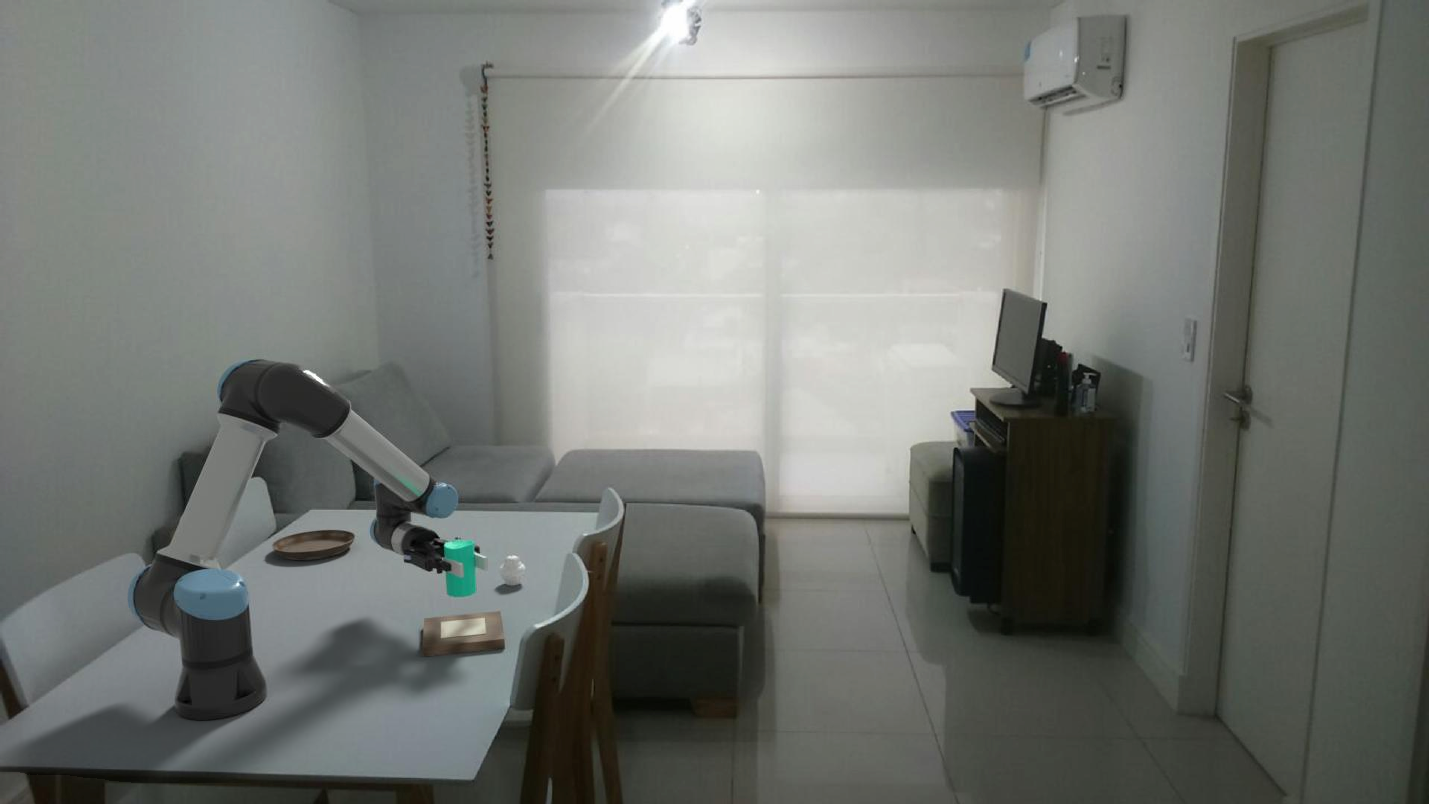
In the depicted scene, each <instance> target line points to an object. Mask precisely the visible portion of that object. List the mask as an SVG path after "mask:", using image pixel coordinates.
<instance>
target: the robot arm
mask: <svg viewBox="0 0 1429 804" xmlns="http://www.w3.org/2000/svg"><path fill="white" fill-rule="evenodd" d="M216 391H217V392H216V394H217V396H218V402H219V404H220V406H219V409H218V411H217V413H216V417H217V420H218V422H219V424H220V425H219V426H220V428H219V431H218V432H217V435H216V438H215V439H214V442H213V444H212V446H211V449H210V451H209V454H208V456H207V458H206V461H205V463H204V465H203V467H202V470H201V472H200V475H199V476H198V479H197V481H196V484H195V486H194V488H193V490H192V493H191V495H190V497H189V500H188V502H187V504H186V507H185V508H184V512H183V513H182V516H181V519H180V520H179V521H178V525H177V527H176V529H175V532H174V534H173V537H172V539H171V542H170V543H169V545H167V546H165V547H163V548H160V549H159V550H157V552H156V554H155V555H154V558H153V560H152V562H151V564H149V565H146V567H144V568H142V569H140V570H139V571H138V572H137V573H136V574H135V575H134V577H133V578H132V579H131V582H130V584H129V587H128V590H127V605H128V608H129V611H130V613H131V614H132V616H133V617H134V618H135V619H136V620H137V621H138V622H139V623H141V624H143V625H144V626H145V627H147V628H149V629H150V630H152V631H158V632H161V633H164V634H166V635H168V636H171V637H173V638H175V639H178V640H179V647H180V656H181V657H180V658H181V672H180V675H179V679H178V683H177V687H176V691H175V695H174V707H175V712H176V714H177V715H178V716H180V717H182V718H185V719H187V720H197V721H198V720H199V721H205V720H207V721H208V720H209V721H210V720H217V719H223V718H227V717H231V716H236V715H239V714H242V713H245V712H246V711H249V710H252V709H253V708H255V707H257V706H258V705H260V704H261V703H263V701H264V700H265V699H266V698H267V695H268V688H267V687H268V686H267V681H266V678H265V676H264V674H263V672H262V670H261V667H260V665H259V664H258V662H257V660H256V658H255V655H254V650H253V649H254V647H253V636H252V635H253V634H252V624H251V623H252V622H251V611H250V594H249V591H248V587H247V586H248V585H247V583H246V580H245V578H244V577H243V576H242V575H241V574H240V573H238V572H236V571H232V570H229V569H224V568H222V569H221V566H220V565H219V562H218V557H219V555H220V552H221V550H222V547H223V545H224V542H225V540H226V538H227V536H228V533H229V530H230V529H231V526H232V523H233V521H234V519H235V517H236V514H237V512H238V508H239V507H240V505H241V502H242V500H243V498H244V495H245V493H246V490H247V488H248V485H249V482H250V480H251V478H252V476H253V473H254V471H255V468H256V467H257V464H258V462H259V459H260V457H261V454H262V452H263V450H264V447H265V445H266V443H267V442H268V441H270V440H272V439H275V438H277V437H278V435H279V432H280V430H281V429H282V425H283V424H285V425H289V426H291V427H295V428H298V429H301V430H303V431H305V432H306V433H308V434H309V435H310V436H312V437H313V438H315V439H316V440H326V441H327V442H328V443H329V444H331V445H332V446H333V447H334V448H336V449H337V450H338V451H339V452H341V453H342V454H343V455H345V456H346V457H347V458H349V459H350V460H351V461H352V462H354V463H355V464H356V465H358V466H359V467H360V468H361V469H363V470H364V471H365V472H366V473H368V474H369V475H370V476H371V477H373V484H372V487H373V489H374V491H373V492H374V500H375V501H374V502H375V511H376V512H375V513H376V514H375V517H374V518H373V520H372V522H371V524H370V527H369V536H370V538H371V540H372V541H373V542H374V543H375V544H377V545H378V546H379V547H381V548H382V549H384V550H389V551H391V552H393V553H395V554H397V555H400V556H403V562H404V563H405V564H411V565H412V566H415V567H417V568H420V569H422V570H424V571H426V572H433V571H434V569H435V570H436V574H438V575H440V574H443V573H444V572H445V573H446V572H449V573H451V574H453V575H456V576H458V577H460V578H461V577H464V573H463V564H462V563H460V562H458V561H455V560H451V559H447V558H446V557H445V554H444V544H445V543H446V542H449V540H447V539H443V538H441V537H440V536H439V535H438V533H437V532H436V531H435V530H433V529H430V528H428V527H426V526H423V525H421V524H418V523H415V522H413V521H412V514H417V515H421V516H425V517H428V518H430V519H447V518H448V517H450V516H452V515H453V513H455V511H456V508H457V507H458V504H459V494H458V492H457V490H456V488H455V487H454V486H452V485H450V484H447V483H446V482H440V481H438V480H436V479H435V478H434V477H433V476H431V475H430V474H429V473H428V472H426V471H425V470H424V469H423V468H422V467H420V465H418V464H417V463H415V461H413V460H412V459H411V458H410V457H408V456H407V455H406V454H405V453H404V452H402V451H401V450H400V449H399V448H398V447H397V446H395V445H394V444H393V443H392V442H390V441H389V440H388V439H387V438H386V437H385V436H383V435H382V434H381V433H380V432H379V431H377V430H376V429H375V428H374V427H373V426H372V425H370V424H369V423H368V422H367V421H366V420H364V419H363V418H362V417H361V416H359V415H358V413H356V412H355V411H354V410H353V409H352V403H351V401H350V400H349V399H348V398H346V396H344V395H343V394H342V393H341V392H339V391H338V390H337V389H336V388H335V387H334V386H333V385H331V384H330V383H329V382H327V380H324V378H322V377H321V376H319V375H318V374H317V373H315V372H314V371H312V370H311V369H309V368H307V367H304V366H302V365H300V364H297V363H292V362H282V361H281V362H280V361H275V360H267V359H264V358H254V359H243V360H239V361H238V362H235V363H233V364H231V365H230V366H229V367H228V368H227V369H226V370H224V372H223V373H222V375H221V376H220V378H219V381H218V384H217V388H216ZM455 540H458V536H457V537H456V536H455V537H454V539H453V541H455ZM459 540H463V539H462V538H461V537H460V536H459ZM474 552H475V554H474V557H475V568H477V569H480V570H482V571H484V572H486V571H488V570H489V565H488V564H489V562H488V557H487V556H486V555H483V554H481V547H480V546H479V545H476V544H474Z"/></svg>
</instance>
